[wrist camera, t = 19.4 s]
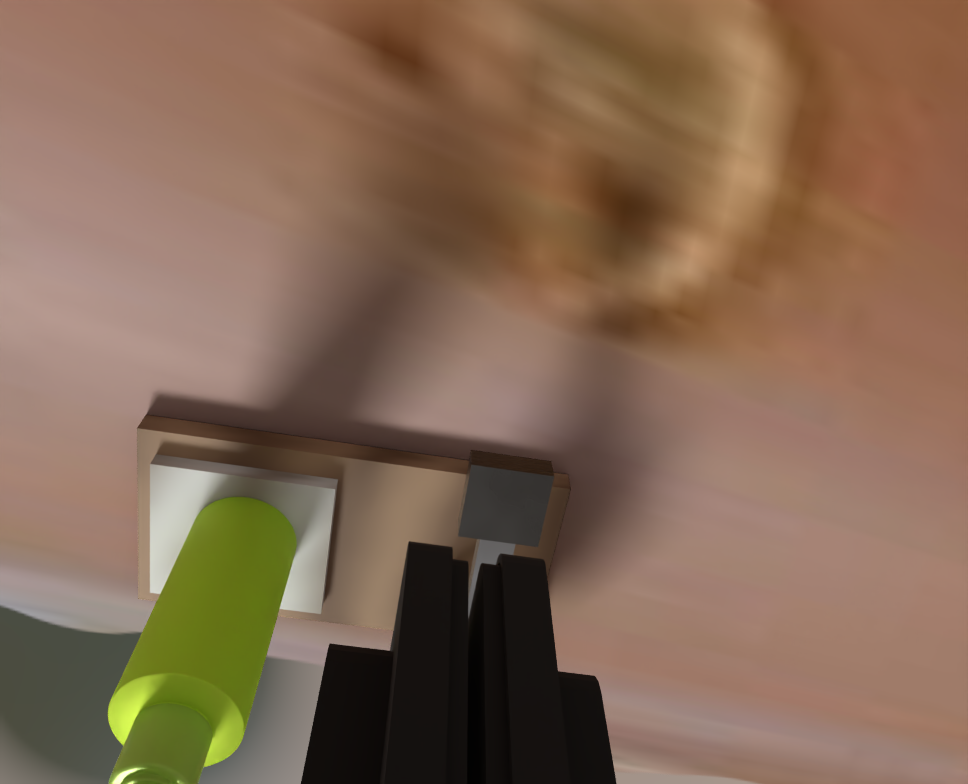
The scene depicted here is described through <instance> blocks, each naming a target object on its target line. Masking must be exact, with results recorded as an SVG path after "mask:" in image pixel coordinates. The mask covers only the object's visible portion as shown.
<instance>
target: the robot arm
mask: <svg viewBox="0 0 968 784" xmlns="http://www.w3.org/2000/svg"><path fill="white" fill-rule="evenodd" d="M468 586H469V564H468V561H463V560H456V559H453V548H452V547H449V546H441V545H434V544H426V543H419V542H411V541H409V542H408V547H407V553H406V558H405V564H404V570H403V576H402V582H401V589H400V595H399V601H398V607H397V613H396V619H395V625H394V631H393V637H392V643H391V649H390V651H386V650H378V649H370V648H361V647H353V646H345V645H337V644H329V648H328V652H327V657H326V662H325V666H324V671H323V676H322V681H321V687H320V691H319V696H318V701H317V707H316V711H315V716H314V722H313V726H312V731H311V736H310V742H309V746H308V751H307V756H306V761H305V766H304V771H303V776H302V781H301V784H616V778H615V772H614V766H613V760H612V754H611V748H610V742H609V736H608V730H607V724H606V718H605V712H604V706H603V700H602V694H601V690H600V686H599V682H598V680H597V679H596V677H595V676H591V675H583V674H575V673H567V672H558V668H557V660H556V651H555V642H554V633H553V624H552V616H551V607H550V598H549V589H548V581H547V572H546V565H545V561H544V560H543V559H539V558H532V557H524V556H517V555H509V554H502V553H500V554H499V556H498V558H497V562H496V565H494V564H486V563H481V565H480V568H479V572H478V577H477V581H476V586H475V591H474V595H473V600H472V604H471V609H470V614H469V618H468Z"/></svg>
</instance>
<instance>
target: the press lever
mask: <svg viewBox="0 0 968 784" xmlns="http://www.w3.org/2000/svg"><path fill="white" fill-rule="evenodd" d="M553 480H554V473H553V468H552V463H551V461H545V460H538V459H531V458H524V457H517V456H510V455H503V454H496V453H489V452H482V451H475V450H471V453H470V458H469V464H468V469H467V475H466V480H465V485H464V491H463V496H462V501H461V507H460V512H459V518H458V537H466V538H473V539H477V541H476V546H475V551H474V556H473V561H472V566H471V571H470V576H469V586H468V618H469V614H470V609H471V604H472V600H473V595H474V591H475V586H476V581H477V577H478V572H479V568H480V565H481V563H486V564H494V565H496V562H497V558H498V556H499V554H500V553H502V554H509V555H513V554H514V549H515V545H516V544H518V545H525V546H533V547H538V545H539V541H540V537H541V532H542V528H543V524H544V519H545V515H546V510H547V506H548V502H549V497H550V493H551V489H552V484H553Z"/></svg>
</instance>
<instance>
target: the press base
mask: <svg viewBox="0 0 968 784" xmlns="http://www.w3.org/2000/svg"><path fill="white" fill-rule="evenodd" d="M468 464H469V461H468V460H461V459H454V458H447V457H440V456H433V455H426V454H419V453H412V452H405V451H398V450H391V449H384V448H377V447H369V446H362V445H355V444H348V443H341V442H334V441H327V440H320V439H313V438H306V437H299V436H292V435H285V434H278V433H271V432H264V431H257V430H250V429H243V428H236V427H229V426H222V425H215V424H208V423H200V422H193V421H186V420H179V419H172V418H165V417H158V416H151V415H146V416H145V417H144V419H143V420H142V422H141V423H140V425H139V426H138V428H137V482H138V599H143V600H151V601H157V600H158V598H159V596H160V594H161V591H162V589H163V587H164V585H165V583H166V581H167V579H168V576H169V574H170V572H171V570H172V568H173V566H174V564H175V561H176V559H177V557H178V555H179V553H180V551H181V549H182V547H183V544H184V542H185V540H186V538H187V536H188V534H189V532H190V529H191V527H192V525H193V523H194V521H195V519H196V517H197V516H198V514H199V513H200V512H201V511H202V510H203V509H204V508H205V507H206V506H208V505H209V504H211V503H213V502H215V501H218V500H220V499H224V498H229V497H248V498H253V499H257V500H260V501H263V502H265V503H267V504H269V505H271V506H273V507H274V508H276V509H277V510H279V511H280V512H281V513H282V514H283V515H284V516H285V517H286V518H287V519H288V521H289V522H290V524H291V525H292V527H293V529H294V532H295V535H296V541H297V547H296V553H295V556H294V560H293V563H292V567H291V570H290V574H289V577H288V581H287V584H286V588H285V591H284V595H283V598H282V602H281V605H280V609H279V613H278V616H280V617H288V618H296V619H305V620H313V621H321V622H329V623H337V624H345V625H353V626H361V627H369V628H377V629H385V630H393V631H394V625H395V619H396V613H397V607H398V601H399V595H400V589H401V582H402V576H403V570H404V564H405V558H406V553H407V547H408V542H409V541H411V542H419V543H426V544H434V545H441V546H449V547H452V548H453V559H456V560H463V561H468V564H469V576H470V571H471V566H472V561H473V556H474V551H475V546H476V541H477V539H473V538H466V537H458V518H459V512H460V507H461V501H462V496H463V491H464V485H465V480H466V475H467V469H468ZM570 490H571V488H570V482H569V477H568V475H567V474H560V473H554V480H553V484H552V489H551V493H550V497H549V502H548V506H547V510H546V515H545V519H544V524H543V528H542V532H541V537H540V541H539V545H538V547H533V546H525V545H518V544H516V545H515V549H514V554H513V555H517V556H524V557H532V558H539V559H543V560H544V561H545V565H546V572H547V578H548V574H549V570H550V566H551V563H552V559H553V555H554V551H555V547H556V543H557V540H558V536H559V532H560V528H561V524H562V520H563V517H564V513H565V509H566V505H567V501H568V497H569V494H570Z"/></svg>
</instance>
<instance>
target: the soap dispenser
mask: <svg viewBox="0 0 968 784" xmlns="http://www.w3.org/2000/svg"><path fill="white" fill-rule="evenodd" d="M296 547H297V541H296V535H295V532H294V529H293V527H292V525H291V524H290V522H289V521H288V519H287V518H286V517H285V516H284V515H283V514H282V513H281V512H280V511H279V510H277V509H276V508H274V507H273V506H271V505H269V504H267V503H265V502H263V501H260V500H257V499H253V498H248V497H229V498H224V499H220V500H218V501H215V502H213V503H211V504H209V505H208V506H206V507H205V508H204V509H203V510H202V511H201V512H200V513H199V514H198V516H197V517H196V519H195V521H194V523H193V525H192V527H191V529H190V532H189V534H188V536H187V538H186V540H185V542H184V544H183V547H182V549H181V551H180V553H179V555H178V557H177V559H176V561H175V564H174V566H173V568H172V570H171V572H170V574H169V576H168V579H167V581H166V583H165V585H164V587H163V589H162V591H161V594H160V596H159V598H158V600H157V602H156V604H155V606H154V609H153V611H152V613H151V615H150V617H149V619H148V621H147V623H146V626H145V628H144V630H143V632H142V634H141V636H140V638H139V641H138V643H137V645H136V647H135V649H134V651H133V653H132V656H131V658H130V660H129V662H128V664H127V666H126V668H125V671H124V673H123V675H122V677H121V679H120V681H119V684H118V685H117V688H116V690H115V692H114V694H113V696H112V698H111V701H110V703H109V707H108V720H109V724H110V727H111V729H112V731H113V733H114V735H115V736H116V738H117V739H118V740H119V742H120V743H121V744H122V745H123V748H122V751H121V753H120V756H119V758H118V760H117V762H116V765H115V767H114V769H113V772H112V774H111V777H110V780H109V784H198V782H199V779H200V776H201V773H202V770H203V767H206V766H209V765H213V764H216V763H218V762H220V761H222V760H224V759H226V758H227V757H229V756H230V755H231V754H232V753H233V752H234V751H235V750H236V749H237V748H238V746H239V745H240V743H241V741H242V738H243V736H244V732H245V729H246V725H247V721H248V718H249V715H250V711H251V708H252V704H253V700H254V697H255V694H256V690H257V687H258V683H259V679H260V676H261V672H262V669H263V665H264V662H265V658H266V655H267V651H268V648H269V644H270V641H271V637H272V634H273V630H274V627H275V623H276V620H277V616H278V613H279V609H280V605H281V602H282V598H283V595H284V591H285V588H286V584H287V581H288V577H289V574H290V570H291V567H292V563H293V560H294V556H295V553H296Z"/></svg>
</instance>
